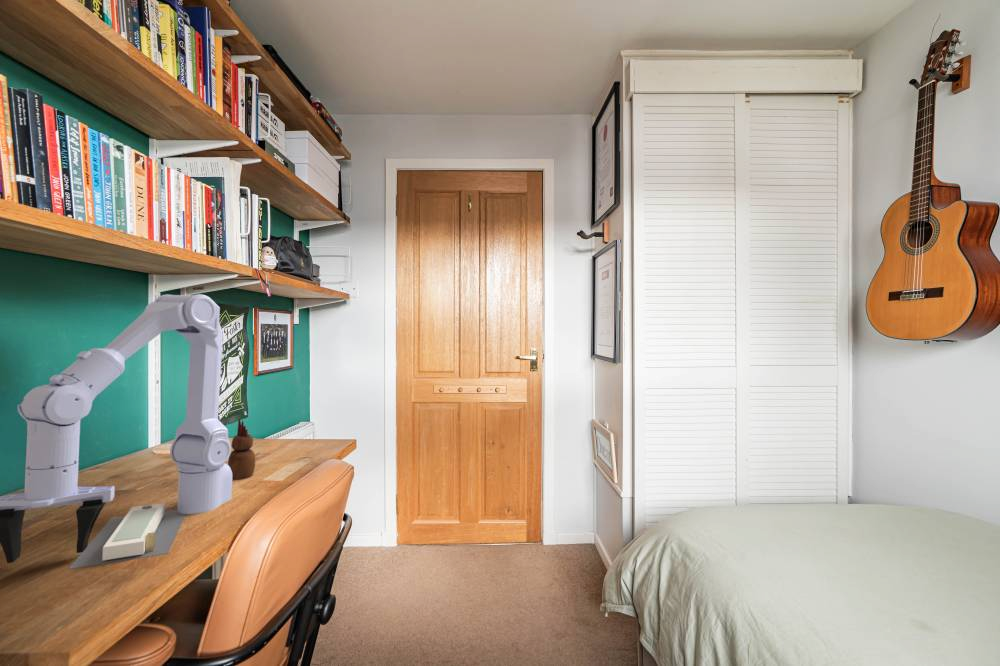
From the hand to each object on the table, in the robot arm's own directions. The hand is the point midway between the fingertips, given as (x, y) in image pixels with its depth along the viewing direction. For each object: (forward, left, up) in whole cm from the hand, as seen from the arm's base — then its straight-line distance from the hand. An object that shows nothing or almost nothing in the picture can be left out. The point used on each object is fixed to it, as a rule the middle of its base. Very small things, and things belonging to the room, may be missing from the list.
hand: (48, 554), depth 68 cm
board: (-11, +4, -2) cm, 12 cm away
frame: (-10, +4, -1) cm, 11 cm away
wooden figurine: (-44, -2, -2) cm, 44 cm away
